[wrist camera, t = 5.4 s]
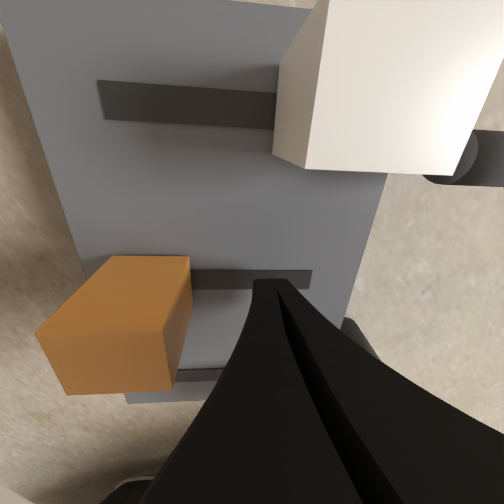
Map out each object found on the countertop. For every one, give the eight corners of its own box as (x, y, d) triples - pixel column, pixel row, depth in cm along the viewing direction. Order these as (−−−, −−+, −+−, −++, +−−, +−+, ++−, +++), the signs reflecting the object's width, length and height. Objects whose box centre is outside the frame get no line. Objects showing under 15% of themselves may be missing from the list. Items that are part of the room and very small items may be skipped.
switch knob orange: (193, 304, 10) (172, 390, 7) (125, 304, 10) (66, 395, 7) (189, 256, 9) (161, 330, 6) (112, 255, 9) (33, 332, 5)
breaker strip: (306, 355, 17) (320, 396, 15) (144, 360, 16) (126, 405, 14) (376, 55, 9) (436, 21, 7) (64, 26, 8) (-20, -30, 6)
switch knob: (355, 158, 8) (452, 175, 4) (272, 154, 8) (304, 168, 4) (376, 70, 7) (528, -1, 3) (279, 61, 7) (333, -24, 3)
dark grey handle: (349, 327, 16) (405, 419, 11) (304, 328, 16) (340, 423, 11) (412, 135, 11) (586, 134, 6) (346, 131, 11) (462, 126, 5)
